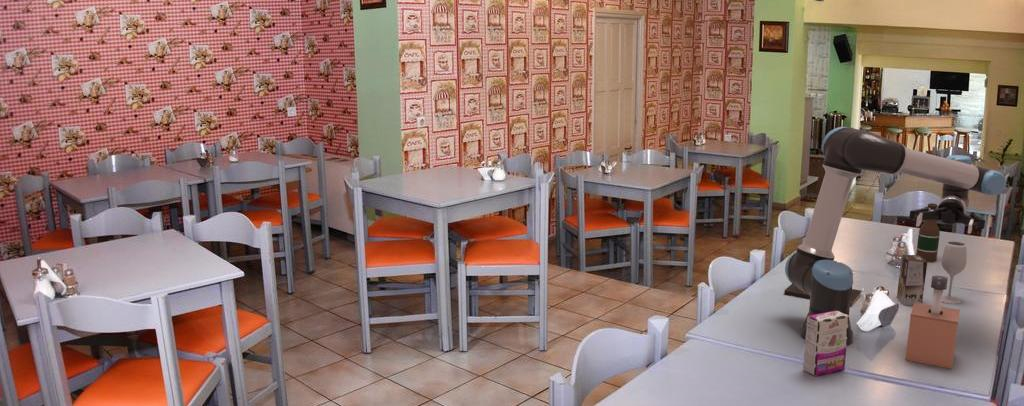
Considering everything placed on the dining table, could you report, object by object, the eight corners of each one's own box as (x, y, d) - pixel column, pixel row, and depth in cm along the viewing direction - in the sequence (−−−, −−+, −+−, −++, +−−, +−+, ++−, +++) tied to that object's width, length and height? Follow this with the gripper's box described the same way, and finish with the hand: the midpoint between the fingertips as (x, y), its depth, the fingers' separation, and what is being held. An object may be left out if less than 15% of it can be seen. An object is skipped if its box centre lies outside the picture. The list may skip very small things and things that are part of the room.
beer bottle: (937, 259, 337) (944, 203, 332) (935, 263, 331) (942, 206, 326) (916, 256, 341) (923, 201, 336) (914, 260, 335) (921, 204, 330)
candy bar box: (831, 363, 231) (836, 309, 227) (844, 370, 227) (850, 315, 223) (801, 370, 227) (806, 314, 223) (814, 377, 222) (819, 320, 219)
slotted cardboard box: (909, 346, 244) (914, 302, 241) (953, 354, 238) (959, 309, 235) (905, 359, 234) (910, 314, 231) (951, 368, 228) (958, 322, 225)
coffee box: (922, 306, 279) (928, 262, 276) (902, 305, 281) (908, 260, 277) (915, 298, 288) (920, 254, 285) (896, 296, 289) (901, 253, 286)
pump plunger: (923, 344, 238) (932, 274, 234) (939, 346, 236) (948, 277, 232) (921, 352, 232) (930, 281, 227) (937, 355, 230) (946, 283, 225)
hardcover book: (796, 284, 304) (796, 279, 303) (861, 296, 291) (861, 290, 291) (783, 296, 291) (784, 290, 290) (851, 309, 278) (851, 302, 278)
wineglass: (963, 300, 286) (971, 243, 282) (957, 305, 281) (965, 247, 276) (940, 295, 291) (947, 239, 287) (934, 300, 286) (941, 243, 281)
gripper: (995, 227, 248) (990, 244, 231) (906, 215, 262) (895, 231, 244) (998, 203, 246) (994, 219, 229) (909, 193, 260) (898, 207, 243)
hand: (943, 225), depth 237 cm, fingers open, 13 cm apart
